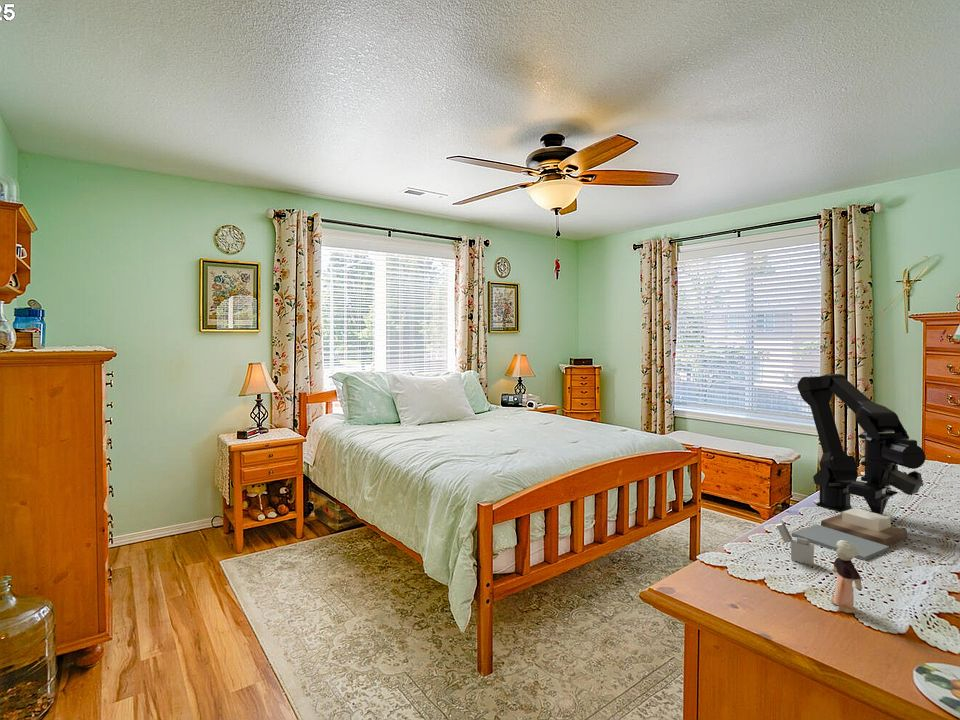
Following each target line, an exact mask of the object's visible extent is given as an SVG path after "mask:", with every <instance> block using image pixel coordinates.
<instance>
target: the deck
mask: <svg viewBox="0 0 960 720" xmlns="http://www.w3.org/2000/svg"><path fill="white" fill-rule="evenodd" d="M820 525H821V526H824V527H827V528H830V529H834V530H837V531H840V532H844V533H847V534H850V535H853V536H857V537H860V538H863V539H867V540H870V541H873V542H876V543H880V544H883V545H886V546H889V547H890V546H892V545H894V544H897V543H900V542H901V541H904V540H907V539H908V530H907V529H905V528H901V527H897V526H894V525H891V527H889V528H887V529H884V530H882V531H879V532H877V531H874V530H870V529H867V528H863V527H860V526H856V525H853V524H849V523H846V522H843V521H842V513H839V514H836V515H833V516H831V517H828V518H825V519H822V520H820Z"/></svg>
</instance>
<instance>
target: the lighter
mask: <svg viewBox="0 0 960 720" xmlns="http://www.w3.org/2000/svg"><path fill="white" fill-rule="evenodd" d="M775 526H776V528H777V531H778V532H779V534H780V536H781V538H782V540H783V542H784V543H790V561H791V560H793V561H792V562H795V561H797V562H796V563H799V562H801V563H800V564H803V563H805V564H804V565H807V564H809V565H808V566H811V565H813V566H814V564H815V544H814V543H811V542H809V541H808V540H807V539H804V538H800V537H798V538H796V539H793V536H792V534H791V533H790V532H789V530H788V528H787V525H786V524H785V522H784V521H782V522H781V521H780V522H777V523H776V524H775ZM813 563H814V564H813Z"/></svg>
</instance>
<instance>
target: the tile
mask: <svg viewBox="0 0 960 720" xmlns="http://www.w3.org/2000/svg"><path fill="white" fill-rule="evenodd" d="M841 514H842V521H843V522H846V523H849V524H853V525H856V526H860V527H863V528H867V529H870V530H874V531H877V532H879V531H882V530H884V529H887V528H889V527H891V526H892V525H891V519H892V518H891V516H888V515H884V514H882V515H881V514H877V513H873V512H872V511H869V510H864V509H862V508H861V509H860V508H856V507H853V508H852V507H851V508H848V509H845V510H843V511H841Z"/></svg>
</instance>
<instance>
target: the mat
mask: <svg viewBox="0 0 960 720" xmlns="http://www.w3.org/2000/svg"><path fill="white" fill-rule="evenodd" d="M791 537H792V538H793V537H794V538H796V537H797V538H798V537H800V538H804V539H807V540H808V541H809V542H810V543H811V542H812V543H811V544H814V543H815V544H814V545H817V546H820V547H823V548H826V547H827V548H826V549H829V548H830V550H832V549H833V551H835V550H836V551H837V549H838V547H837V545H836V544H837V542H838V541H840V540H844V541H847V542H849V543H851V544H853V545H854V547H855V548H856V549H857V551H858V553H859V555H858V556H855V557H854V558H856V559H858V558H859V560H861V559H862V561H864V560H865V561H867V560H869V559H871V558H874V557H876V556H878V555H880V554H882V553H885V552H888V551H890V546H886V545H883V544H880V543H876V542H873V541H870V540H867V539H863V538H860V537H857V536H853V535H850V534H847V533H844V532H840V531H837V530H834V529H830V528H827V527H824V526H821V524H817V523H816V524H812V525H809V526H807V527H804V528H802V529H798V530H796V531H792V532H791ZM797 538H796V539H797ZM836 551H835V552H836Z"/></svg>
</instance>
